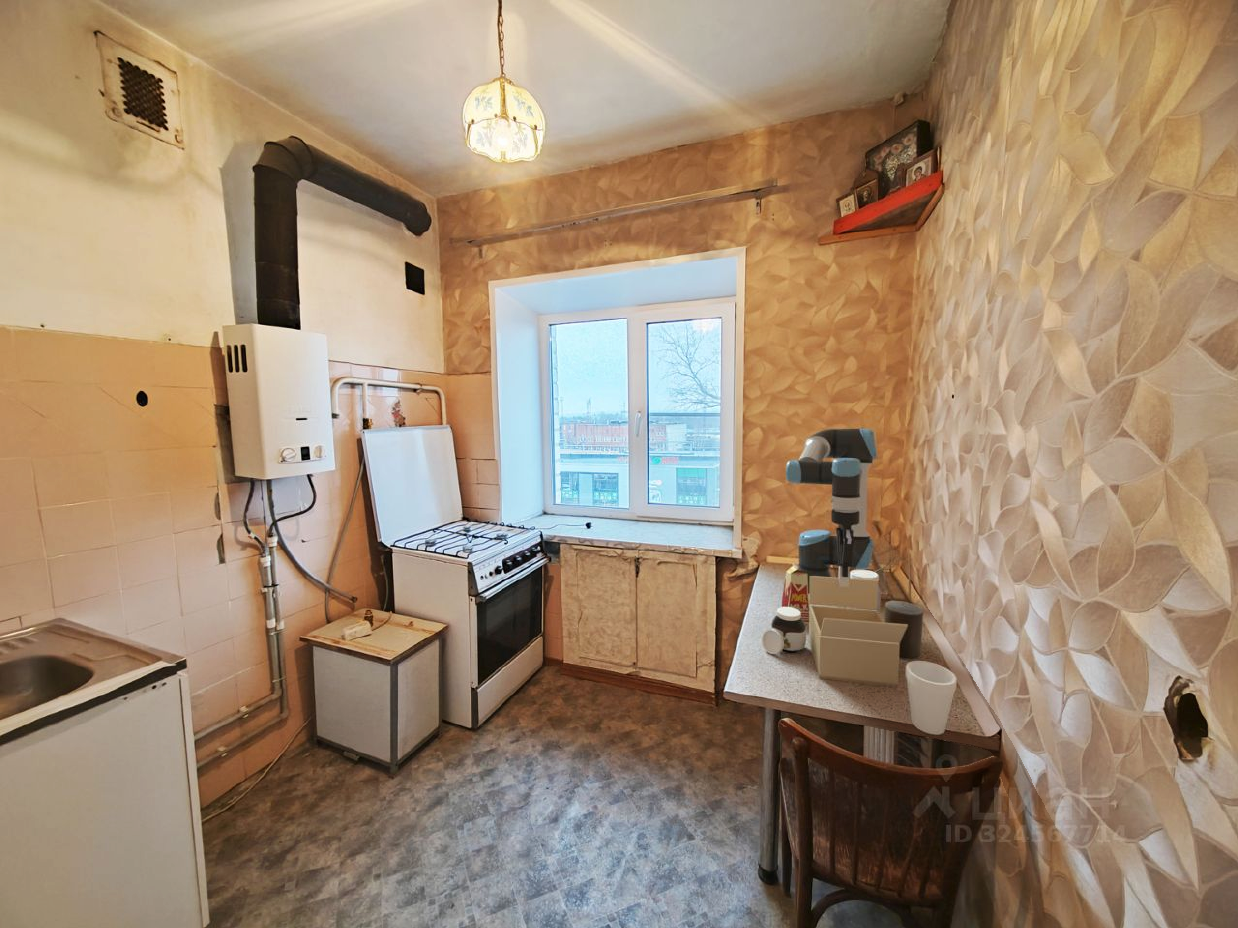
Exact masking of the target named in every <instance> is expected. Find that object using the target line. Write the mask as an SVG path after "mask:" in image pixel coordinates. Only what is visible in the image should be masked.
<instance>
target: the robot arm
mask: <svg viewBox="0 0 1238 928" xmlns="http://www.w3.org/2000/svg"><path fill="white" fill-rule="evenodd" d="M877 454H878V453H877V447H876V438H875V433H874V430H872V429H870V428H828V429H824V430H820V431H817V432H816V433H814V434H812V435H810V437H808V438H807V439H806V440H805V442H804V444H803V451H802V452H801V454H800V456H799V458H798V459H795V460H789V461H787V463H786V468H785V478H786V481H787V482H788V483H792V484H793V483H794V484H804V485H805V484H807V485H827V486H828V485H831V498H830V499H829V502H831V508H832V510H831V512H830V513H831V515H830V518H831V523H833V524H836V525H838V527H835V531H836V532H835V533H836V535H832V533H831V532H830V530H825V529H811V530H806V531H803V532H801V533H800V535H799V538H798V544H797V546H798V566H799V568H798V569H799V570H801V571H803V572H805V573H807V578H808V594H810V576H817V577H832V573H831V571H830V568H831V567H830V566H837V567H838V578H839V586H840V587H849V578H850V570H851V569H854V570H857V569H859V570H867V569H868V568H870V565H871V561H872V556H873V551H874V544H875V540H874V539H872V538H871V534H870V533H869V532H868V531H867V526H866V525H867V504H868V503H867V501H868V500H867V498H868V497H867V496H868V473H869V472H868V471H869V470H868V469H869V467H871V466H872V465H873V460H877V458H878V457H877ZM824 459H833V460H832V461H827V460H825V461H824ZM850 568H851V569H850Z"/></svg>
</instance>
